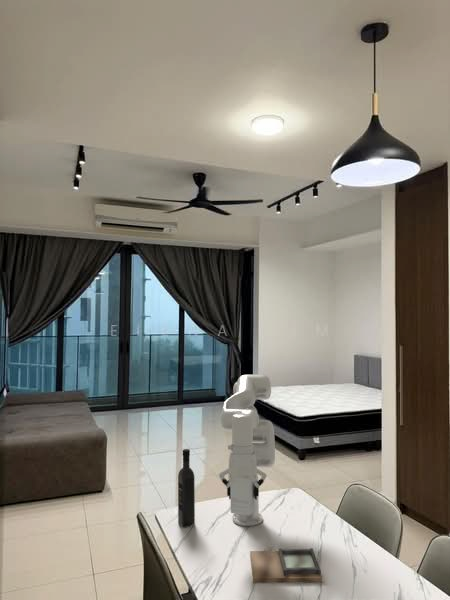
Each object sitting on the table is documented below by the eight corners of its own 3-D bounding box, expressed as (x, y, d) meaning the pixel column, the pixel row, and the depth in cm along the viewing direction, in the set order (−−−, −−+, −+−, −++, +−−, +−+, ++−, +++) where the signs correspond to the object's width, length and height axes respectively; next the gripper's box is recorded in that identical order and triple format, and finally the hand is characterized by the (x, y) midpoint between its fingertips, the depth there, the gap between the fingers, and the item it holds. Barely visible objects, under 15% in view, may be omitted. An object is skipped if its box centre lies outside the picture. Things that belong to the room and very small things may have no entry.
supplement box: (255, 507, 154) (255, 471, 154) (249, 516, 147) (249, 479, 147) (236, 504, 156) (236, 469, 157) (229, 513, 149) (229, 476, 150)
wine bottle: (183, 528, 171) (182, 452, 172) (177, 522, 176) (177, 449, 177) (195, 524, 174) (195, 450, 175) (189, 519, 178) (189, 447, 180)
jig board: (253, 583, 135) (252, 573, 135) (250, 555, 151) (250, 546, 151) (322, 582, 135) (321, 572, 135) (311, 554, 151) (311, 546, 151)
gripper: (217, 451, 149) (218, 502, 148) (267, 452, 148) (267, 502, 147) (219, 445, 157) (219, 493, 156) (266, 445, 156) (266, 493, 155)
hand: (242, 497), depth 152 cm, fingers closed on supplement box, 8 cm apart
